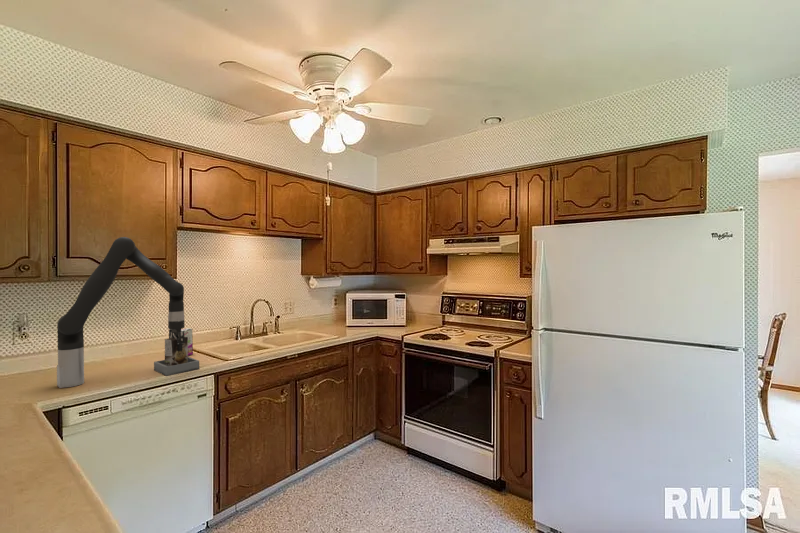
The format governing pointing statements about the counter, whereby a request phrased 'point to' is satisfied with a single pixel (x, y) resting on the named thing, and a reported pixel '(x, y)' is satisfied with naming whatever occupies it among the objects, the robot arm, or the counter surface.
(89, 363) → the counter surface
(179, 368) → the box
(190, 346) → the candy bar box
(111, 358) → the counter surface
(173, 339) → the coffee box
